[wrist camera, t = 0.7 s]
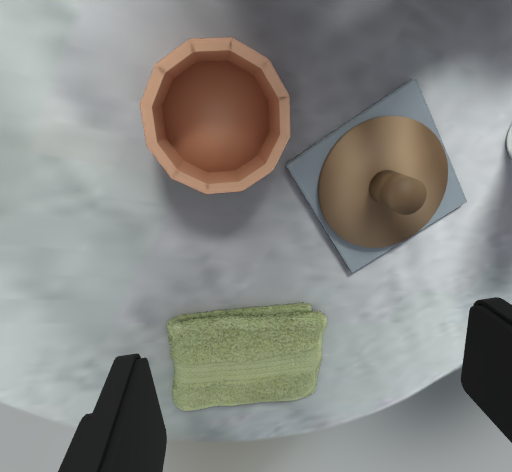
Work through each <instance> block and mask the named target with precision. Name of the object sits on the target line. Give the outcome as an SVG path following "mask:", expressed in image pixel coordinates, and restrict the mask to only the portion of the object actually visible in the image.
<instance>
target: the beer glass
mask: <svg viewBox="0 0 512 472" xmlns="http://www.w3.org/2000/svg"><path fill="white" fill-rule="evenodd" d="M506 146H507V151H508V154H509V156H510V158H511V159H512V125H511V127H510V129H509V132H508V135H507V141H506Z"/></svg>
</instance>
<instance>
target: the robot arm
mask: <svg viewBox="0 0 512 472" xmlns="http://www.w3.org/2000/svg"><path fill="white" fill-rule="evenodd" d="M461 383H462V386H463V388H464V390H465V392H466V393H467V394H468V395H469V396H470V397H471V398H472V399H473V401H474V402H475V403H476V404H477V405H478V406H479V407H480V408H481V409H482V411H483V412H484V413H485V414H486V415H487V416H488V417H489V418H490V419H491V420H492V422H493V423H494V424H495V425H496V426H497V427H498V428H499V429H500V430H501V431H502V433H503V434H504V435H505V436H506V437H507V438H508V439H509V440H510V441H511V442H512V305H511V304H509V303H508V302H506V301H505V300H503V299H501V298H497V297H495V298H489V299H482V300H478V301H476V302H475V303H474V306H472V307H471V308H470V311H469V319H468V327H467V335H466V343H465V350H464V358H463V366H462V374H461ZM166 443H167V436H166V429H165V425H164V421H163V417H162V413H161V409H160V406H159V402H158V398H157V394H156V390H155V386H154V382H153V378H152V375H151V371H150V367H149V363H148V360H147V358H141V357H140V355H139V354H131V355H124V356H118V357H116V358H115V360H114V362H113V365H112V367H111V370H110V372H109V374H108V377H107V379H106V382H105V384H104V387H103V389H102V391H101V394H100V396H99V399H98V401H97V404H96V406H95V409H94V411H93V413H91V414H86V415H85V416H84V417H83V418H82V420H81V421H80V423H79V425H78V428H77V430H76V432H75V434H74V437H73V439H72V442H71V444H70V446H69V448H68V450H67V453H66V455H65V457H64V459H63V462H62V464H61V466H60V469H59V471H58V472H162V471H163V464H164V457H165V450H166Z"/></svg>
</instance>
